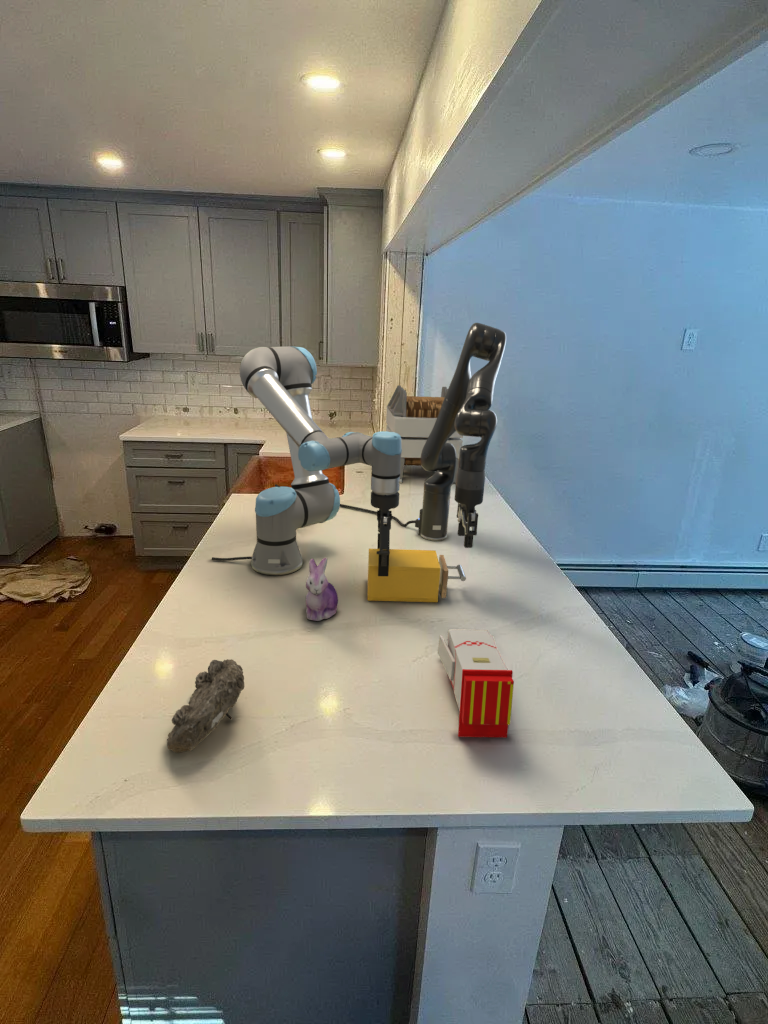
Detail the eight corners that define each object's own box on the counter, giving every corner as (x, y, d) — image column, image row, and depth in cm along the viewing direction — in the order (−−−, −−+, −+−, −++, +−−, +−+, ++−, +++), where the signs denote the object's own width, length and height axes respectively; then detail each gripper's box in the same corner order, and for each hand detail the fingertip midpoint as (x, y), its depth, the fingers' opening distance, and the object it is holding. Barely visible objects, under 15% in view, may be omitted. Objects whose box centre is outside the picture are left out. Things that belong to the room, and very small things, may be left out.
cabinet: (433, 583, 165) (435, 550, 162) (437, 602, 154) (440, 567, 151) (367, 581, 164) (368, 548, 161) (367, 600, 153) (368, 565, 150)
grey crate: (382, 463, 289) (386, 382, 275) (445, 464, 293) (451, 384, 279) (390, 482, 257) (394, 392, 243) (460, 483, 261) (468, 394, 247)
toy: (488, 613, 130) (523, 677, 101) (484, 667, 133) (517, 744, 104) (435, 612, 130) (455, 676, 101) (432, 666, 133) (451, 743, 103)
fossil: (192, 660, 117) (244, 628, 112) (224, 691, 120) (276, 661, 115) (142, 746, 98) (202, 712, 93) (182, 779, 101) (242, 748, 96)
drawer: (459, 581, 164) (462, 555, 162) (465, 598, 155) (468, 571, 152) (380, 579, 164) (381, 553, 161) (381, 596, 154) (382, 568, 151)
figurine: (311, 626, 140) (311, 571, 135) (297, 607, 148) (296, 554, 143) (346, 618, 144) (347, 564, 139) (330, 600, 152) (331, 549, 147)
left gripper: (402, 507, 137) (398, 585, 144) (397, 478, 161) (394, 547, 168) (371, 506, 137) (369, 585, 144) (370, 477, 161) (368, 547, 168)
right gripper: (490, 493, 144) (484, 551, 149) (477, 477, 157) (472, 531, 162) (461, 492, 143) (456, 551, 148) (451, 476, 156) (446, 531, 162)
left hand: (382, 565), depth 156 cm, fingers open, 13 cm apart
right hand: (464, 541), depth 155 cm, fingers open, 8 cm apart
